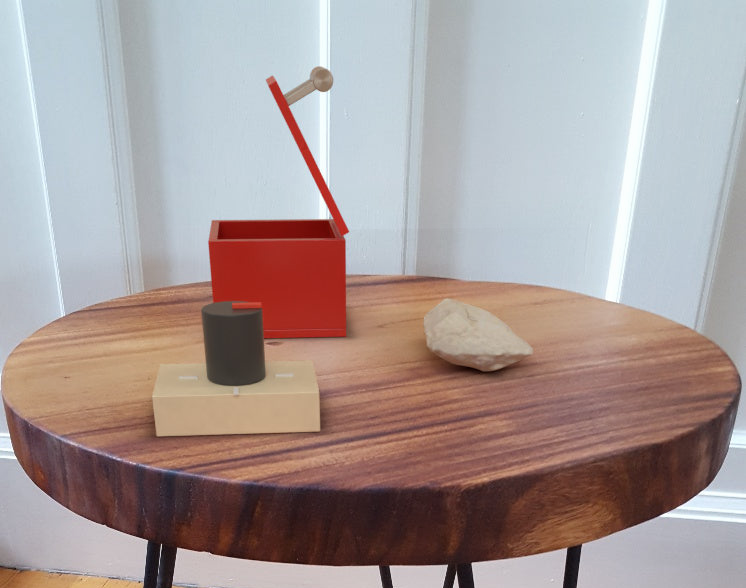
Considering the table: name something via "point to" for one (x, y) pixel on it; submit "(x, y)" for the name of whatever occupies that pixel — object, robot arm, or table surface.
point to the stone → (472, 337)
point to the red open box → (283, 273)
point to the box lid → (322, 83)
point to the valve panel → (236, 401)
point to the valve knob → (234, 342)
